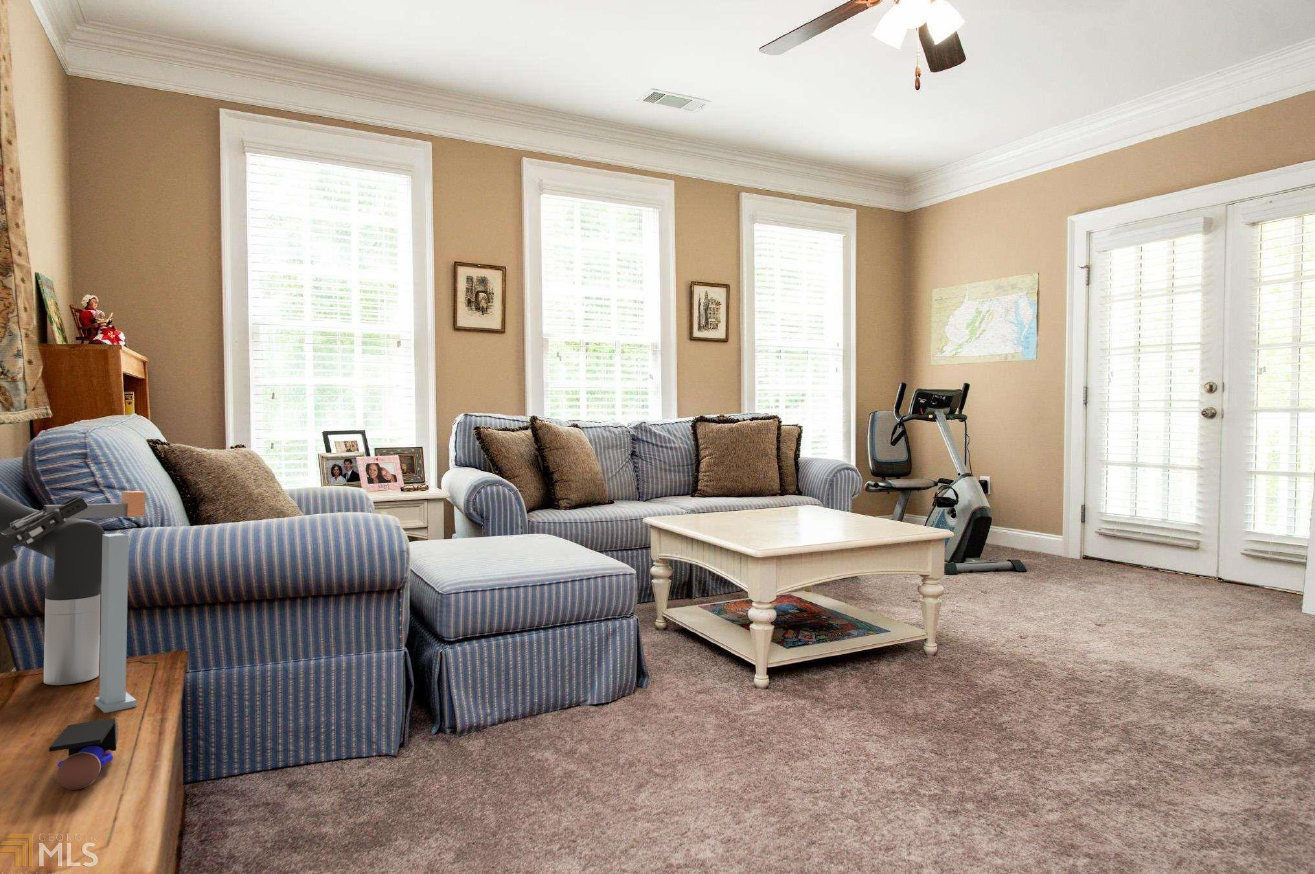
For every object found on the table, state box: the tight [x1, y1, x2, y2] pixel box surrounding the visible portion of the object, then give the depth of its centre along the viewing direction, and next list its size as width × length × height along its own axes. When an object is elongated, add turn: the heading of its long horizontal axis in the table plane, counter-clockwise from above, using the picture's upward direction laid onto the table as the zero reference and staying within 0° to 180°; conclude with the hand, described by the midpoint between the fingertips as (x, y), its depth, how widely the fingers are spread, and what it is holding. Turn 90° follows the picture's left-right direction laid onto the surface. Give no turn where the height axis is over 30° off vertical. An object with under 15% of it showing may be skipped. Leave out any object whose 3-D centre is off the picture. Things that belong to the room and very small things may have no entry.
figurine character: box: [48, 717, 119, 791], centre depth 118 cm, size 7×8×15 cm
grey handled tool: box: [43, 490, 147, 520], centre depth 145 cm, size 5×15×5 cm, turn 137°
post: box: [94, 532, 137, 714], centre depth 148 cm, size 7×5×32 cm
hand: (82, 501), depth 144 cm, fingers closed on grey handled tool, 2 cm apart
